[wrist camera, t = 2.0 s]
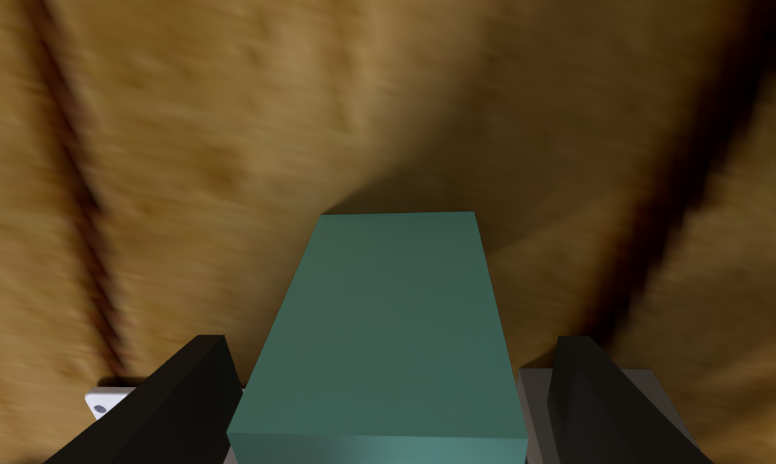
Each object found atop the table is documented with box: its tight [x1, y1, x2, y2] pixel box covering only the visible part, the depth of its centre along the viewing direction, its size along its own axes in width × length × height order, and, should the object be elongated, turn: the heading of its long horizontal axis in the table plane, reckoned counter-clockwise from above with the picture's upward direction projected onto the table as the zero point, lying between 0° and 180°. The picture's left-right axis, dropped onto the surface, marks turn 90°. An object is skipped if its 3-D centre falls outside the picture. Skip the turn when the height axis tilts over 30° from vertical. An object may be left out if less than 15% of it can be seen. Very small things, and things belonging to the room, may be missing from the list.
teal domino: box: [226, 211, 528, 464], centre depth 11 cm, size 2×5×8 cm, turn 93°
